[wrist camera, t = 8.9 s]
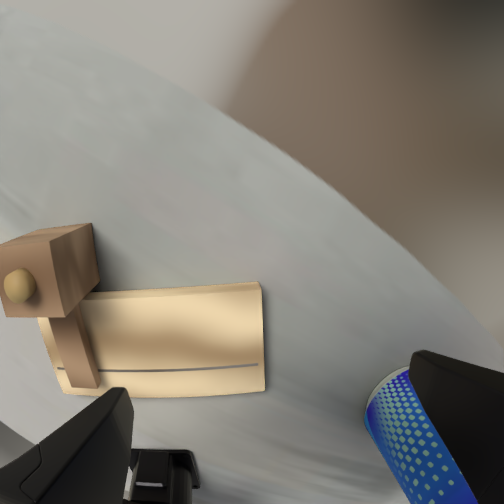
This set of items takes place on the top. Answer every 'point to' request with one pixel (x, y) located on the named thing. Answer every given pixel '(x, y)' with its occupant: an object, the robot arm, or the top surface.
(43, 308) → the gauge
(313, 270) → the top surface
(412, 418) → the beer can
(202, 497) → the top surface
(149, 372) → the board
